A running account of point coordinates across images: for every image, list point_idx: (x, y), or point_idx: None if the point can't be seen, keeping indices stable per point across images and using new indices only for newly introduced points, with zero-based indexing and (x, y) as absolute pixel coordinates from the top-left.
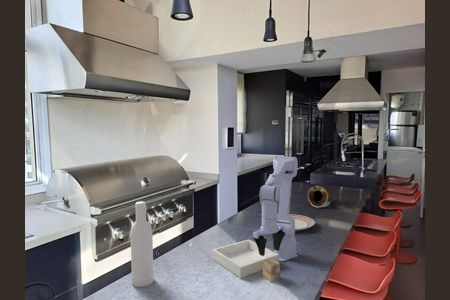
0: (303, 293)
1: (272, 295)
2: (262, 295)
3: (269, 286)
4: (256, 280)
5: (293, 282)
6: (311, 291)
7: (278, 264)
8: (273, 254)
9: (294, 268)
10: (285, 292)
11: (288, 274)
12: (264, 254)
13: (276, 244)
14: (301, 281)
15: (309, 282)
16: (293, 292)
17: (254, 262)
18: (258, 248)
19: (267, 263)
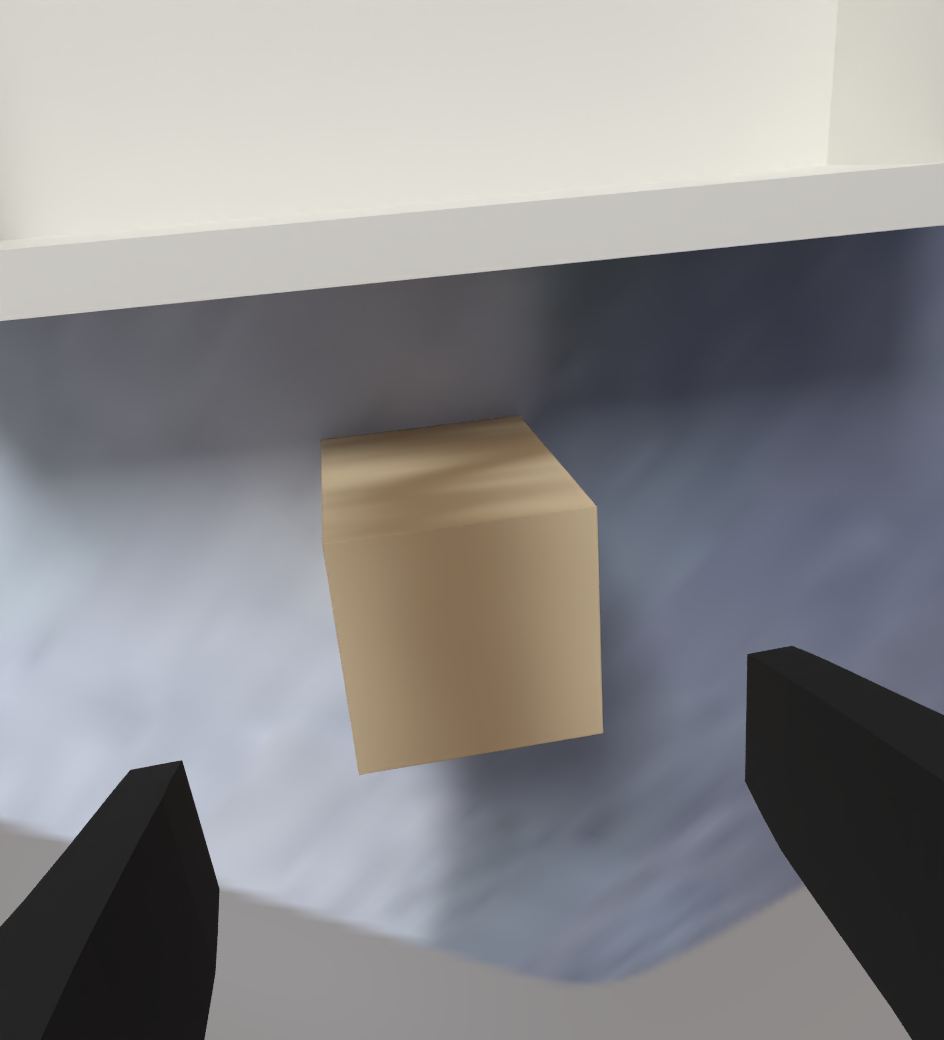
0: (540, 945)
1: None
2: (46, 833)
3: (263, 698)
4: (165, 480)
5: (621, 737)
6: (644, 942)
7: (565, 734)
8: (937, 82)
9: (939, 440)
10: (370, 872)
11: (727, 546)
12: (214, 932)
13: (852, 853)
14: (723, 754)
15: None
16: (456, 900)
17: (235, 285)
18: (40, 920)
19: (384, 637)
